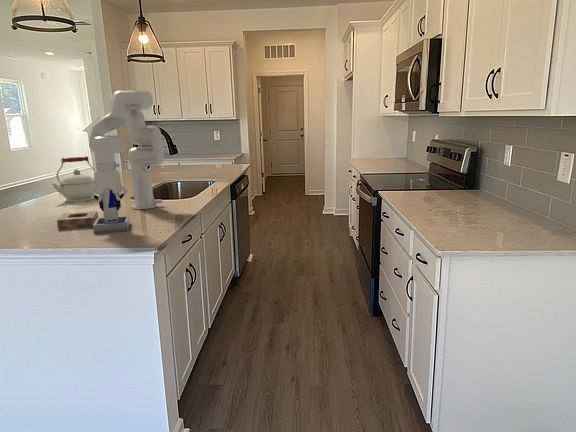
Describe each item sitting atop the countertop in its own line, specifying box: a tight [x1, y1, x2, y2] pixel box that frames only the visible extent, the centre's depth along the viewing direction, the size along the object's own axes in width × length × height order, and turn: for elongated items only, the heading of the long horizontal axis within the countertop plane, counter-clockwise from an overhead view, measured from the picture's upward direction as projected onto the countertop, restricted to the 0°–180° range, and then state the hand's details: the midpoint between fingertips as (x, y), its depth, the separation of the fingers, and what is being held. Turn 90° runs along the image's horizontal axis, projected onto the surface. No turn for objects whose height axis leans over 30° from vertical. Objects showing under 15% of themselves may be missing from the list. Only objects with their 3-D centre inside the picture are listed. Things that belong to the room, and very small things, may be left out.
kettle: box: [51, 156, 96, 203], centre depth 233 cm, size 25×18×25 cm
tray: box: [92, 215, 130, 234], centre depth 171 cm, size 13×13×4 cm
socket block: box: [56, 210, 99, 230], centre depth 179 cm, size 14×14×4 cm
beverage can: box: [102, 188, 120, 223], centre depth 170 cm, size 6×6×15 cm
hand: (110, 209), depth 170 cm, fingers closed on beverage can, 5 cm apart
